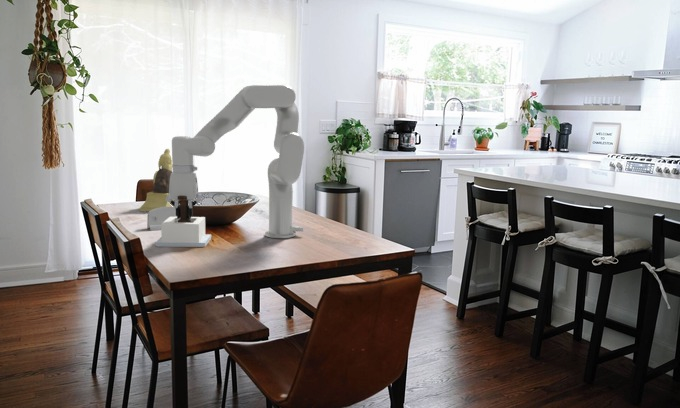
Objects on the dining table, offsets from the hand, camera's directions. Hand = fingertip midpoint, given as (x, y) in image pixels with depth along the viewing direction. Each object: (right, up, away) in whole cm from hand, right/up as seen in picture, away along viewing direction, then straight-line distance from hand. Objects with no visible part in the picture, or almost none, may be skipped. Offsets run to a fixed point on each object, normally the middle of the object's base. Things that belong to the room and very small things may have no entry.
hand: (184, 217), depth 205 cm
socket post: (0, -9, +2) cm, 10 cm away
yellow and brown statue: (-31, +3, +73) cm, 79 cm away
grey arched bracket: (-15, -5, +27) cm, 31 cm away
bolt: (0, -6, +1) cm, 6 cm away
